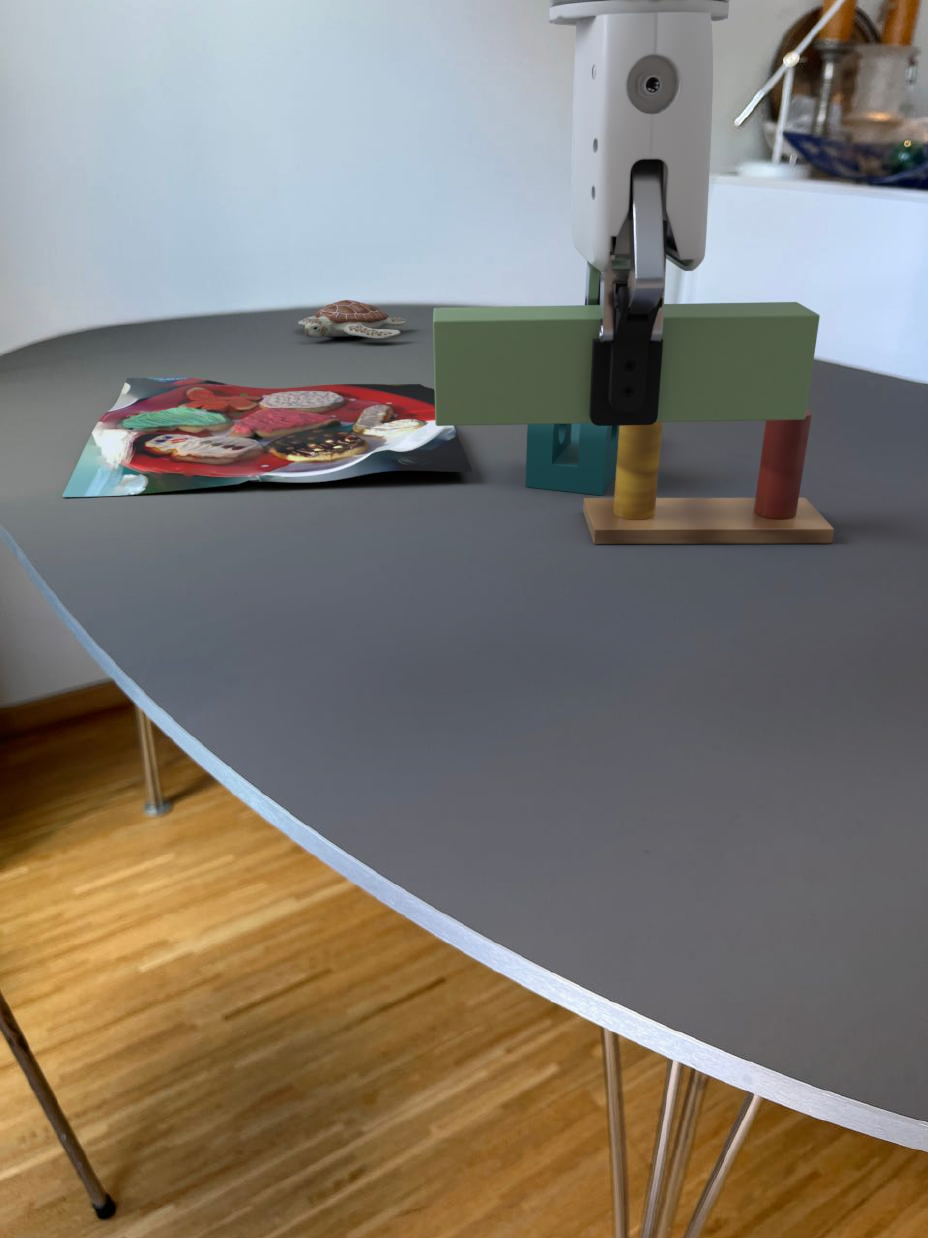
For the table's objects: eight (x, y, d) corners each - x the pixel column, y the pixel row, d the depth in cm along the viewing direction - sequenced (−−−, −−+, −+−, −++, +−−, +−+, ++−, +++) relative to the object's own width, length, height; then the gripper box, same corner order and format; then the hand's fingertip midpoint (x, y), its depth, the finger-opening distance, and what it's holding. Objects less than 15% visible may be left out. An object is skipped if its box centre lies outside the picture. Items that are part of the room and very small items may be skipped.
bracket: (602, 495, 87) (608, 403, 84) (525, 486, 89) (528, 396, 86) (640, 437, 102) (647, 358, 99) (574, 431, 104) (578, 353, 101)
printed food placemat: (60, 498, 86) (57, 476, 85) (130, 395, 117) (128, 379, 116) (471, 481, 90) (471, 460, 89) (433, 386, 121) (433, 370, 120)
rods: (803, 511, 84) (821, 399, 80) (832, 543, 78) (852, 424, 74) (582, 511, 84) (589, 399, 80) (593, 544, 77) (601, 424, 73)
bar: (784, 401, 53) (797, 301, 51) (806, 420, 50) (820, 314, 48) (436, 407, 53) (433, 307, 51) (435, 426, 50) (432, 320, 48)
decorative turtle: (264, 335, 148) (261, 299, 146) (348, 320, 159) (346, 286, 157) (352, 353, 137) (350, 315, 135) (435, 335, 149) (435, 299, 146)
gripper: (787, -45, 36) (732, 462, 44) (687, -2, 51) (660, 371, 59) (572, -42, 36) (557, 465, 44) (534, 0, 51) (528, 374, 59)
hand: (616, 407), depth 51 cm, fingers closed on bar, 3 cm apart
